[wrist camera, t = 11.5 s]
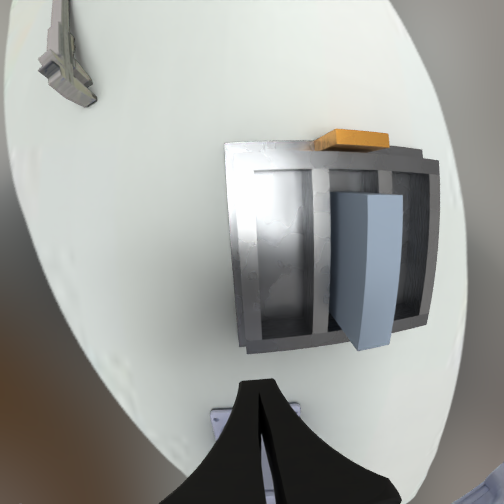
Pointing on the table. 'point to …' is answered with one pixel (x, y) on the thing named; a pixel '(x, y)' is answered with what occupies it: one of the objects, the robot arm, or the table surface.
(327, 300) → the panel rack
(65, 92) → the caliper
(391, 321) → the panel
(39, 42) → the table surface
